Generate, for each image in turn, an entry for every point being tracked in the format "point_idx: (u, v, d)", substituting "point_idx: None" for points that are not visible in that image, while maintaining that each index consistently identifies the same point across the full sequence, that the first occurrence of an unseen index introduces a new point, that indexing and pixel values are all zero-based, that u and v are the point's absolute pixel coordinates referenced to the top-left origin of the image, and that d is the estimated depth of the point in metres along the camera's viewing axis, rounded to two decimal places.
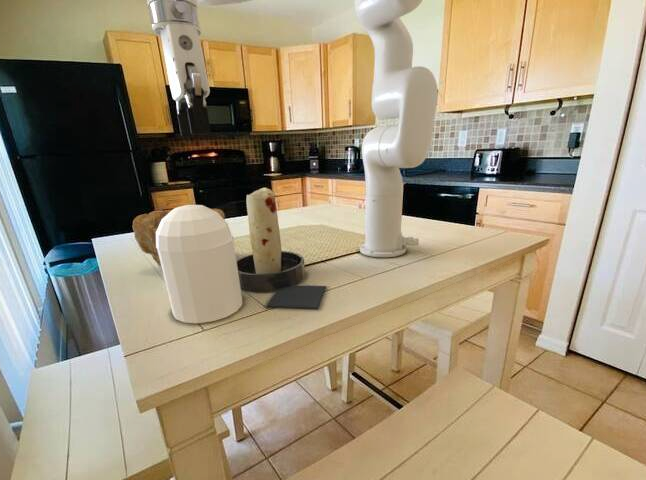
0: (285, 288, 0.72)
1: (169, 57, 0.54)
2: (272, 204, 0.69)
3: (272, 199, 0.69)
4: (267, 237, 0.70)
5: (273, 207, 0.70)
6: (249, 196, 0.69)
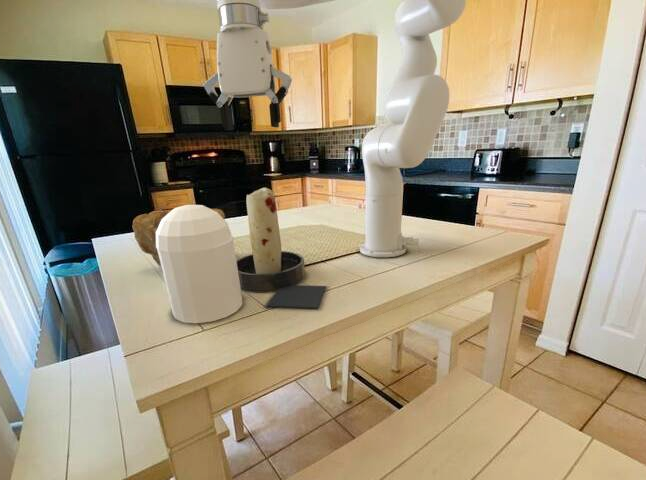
0: (285, 288, 0.72)
1: (251, 55, 0.60)
2: (272, 204, 0.69)
3: (272, 199, 0.69)
4: (267, 237, 0.70)
5: (273, 207, 0.70)
6: (249, 196, 0.69)
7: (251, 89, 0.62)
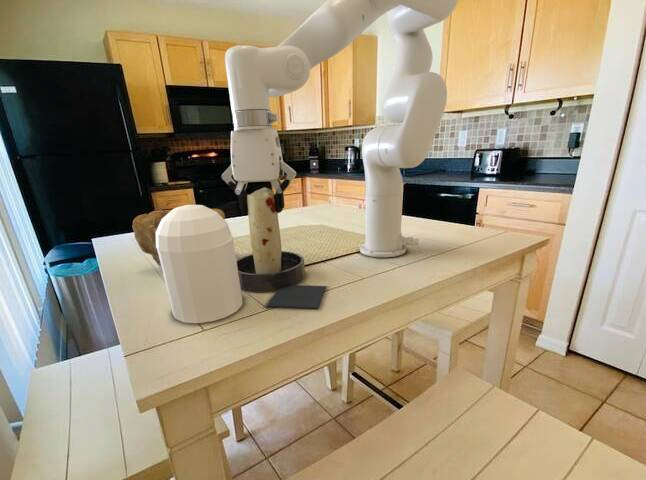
0: (285, 288, 0.72)
1: (262, 151, 0.66)
2: (272, 204, 0.69)
3: (273, 199, 0.69)
4: (267, 237, 0.70)
5: (273, 207, 0.70)
6: (250, 196, 0.69)
7: (262, 178, 0.68)
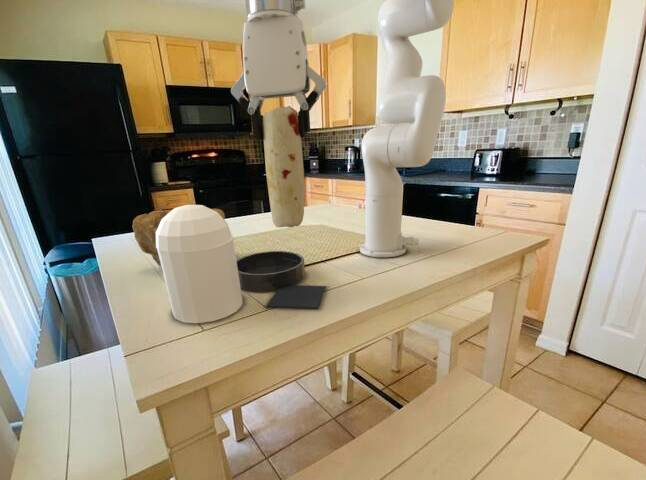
0: (285, 288, 0.72)
1: (284, 49, 0.50)
2: (296, 124, 0.54)
3: (296, 117, 0.54)
4: (289, 167, 0.55)
5: (297, 128, 0.54)
6: (267, 113, 0.54)
7: (283, 89, 0.53)
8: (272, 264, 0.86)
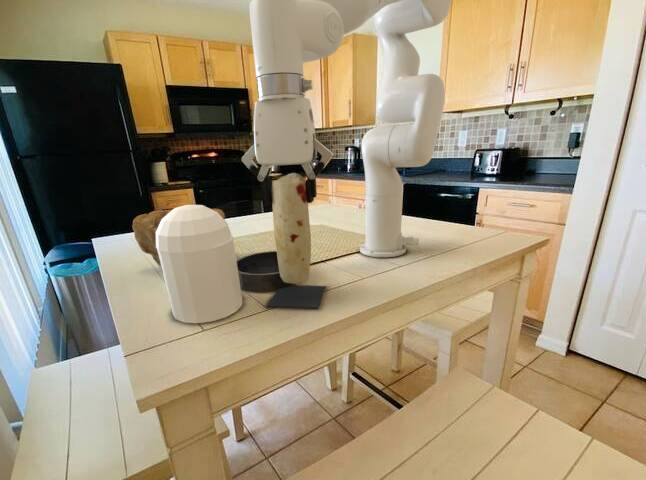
0: (285, 288, 0.72)
1: (293, 126, 0.54)
2: (304, 192, 0.57)
3: (304, 186, 0.57)
4: (297, 232, 0.58)
5: (305, 196, 0.58)
6: (276, 182, 0.57)
7: (291, 161, 0.56)
8: (272, 264, 0.86)
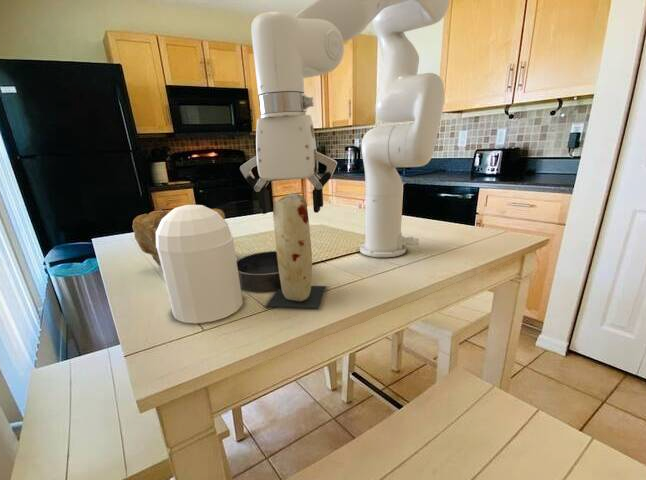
0: None
1: (294, 143, 0.55)
2: (305, 213, 0.59)
3: (305, 207, 0.59)
4: (299, 252, 0.60)
5: (306, 216, 0.59)
6: (278, 203, 0.59)
7: (293, 176, 0.57)
8: (272, 264, 0.86)
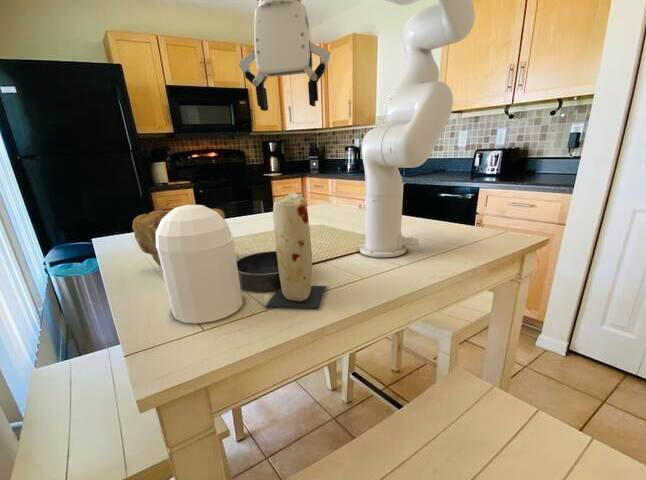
0: None
1: (291, 31, 0.58)
2: (305, 213, 0.59)
3: (305, 207, 0.59)
4: (299, 252, 0.60)
5: (306, 216, 0.59)
6: (278, 203, 0.59)
7: (290, 66, 0.61)
8: (272, 264, 0.86)
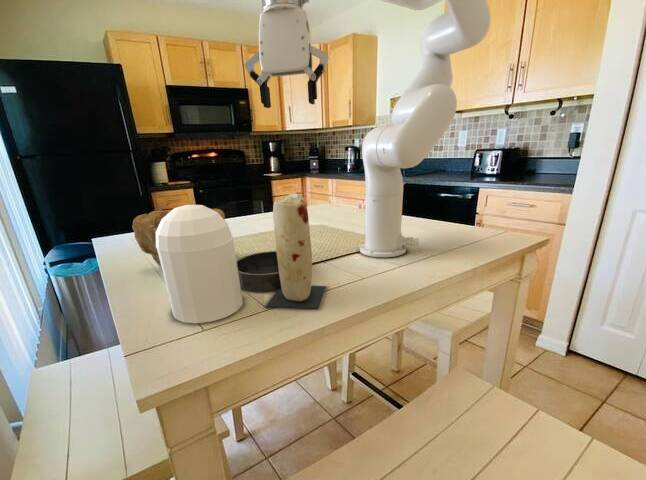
0: None
1: (292, 34, 0.63)
2: (305, 213, 0.59)
3: (305, 207, 0.59)
4: (299, 252, 0.60)
5: (306, 216, 0.59)
6: (278, 203, 0.59)
7: (291, 67, 0.66)
8: (272, 264, 0.86)
